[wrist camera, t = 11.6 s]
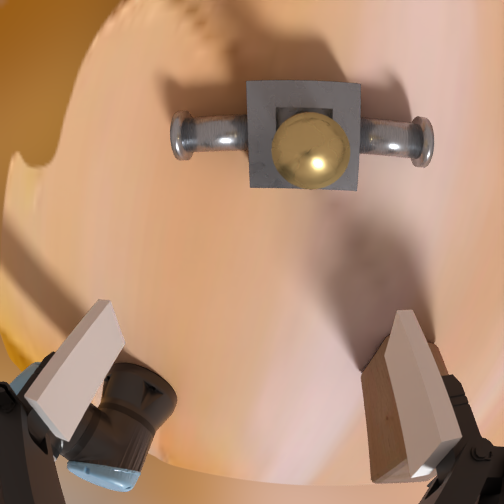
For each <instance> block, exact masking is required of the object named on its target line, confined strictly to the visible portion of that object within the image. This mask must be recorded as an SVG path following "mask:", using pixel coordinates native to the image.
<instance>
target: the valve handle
mask: <svg viewBox="0 0 504 504" xmlns="http://www.w3.org/2000/svg"><path fill="white" fill-rule="evenodd" d="M271 152H272V159H273V162H274V165H275V167H276V169H277V171H278V172H279V173H280V175H281V176H282V177H283V178H284V179H285V180H287V181H288V182H289V183H291V184H293V185H295V186H297V187H300V188H304V189H320V188H324V187H326V186H329V185H331V184H332V183H334V182H335V181H337V180H338V179H339V178H340V177H341V176H342V175H343V173H344V172H345V170H346V168H347V166H348V163H349V160H350V144H349V140H348V138H347V135H346V133H345V132H344V130H343V129H342V127H341V126H340V125H339V124H338V123H337V122H336V121H334V120H333V119H331V118H329V117H327V116H325V115H323V114H320V113H315V112H308V111H301V112H297V113H295V114H293V115H292V116H291V117H290V118H288V119H287V120H286V121H284V122H283V123H282V124H281V126H280V127H279V128H278V130H277V131H276V133H275V135H274V138H273V141H272V149H271Z"/></svg>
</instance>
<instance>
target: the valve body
mask: <svg viewBox="0 0 504 504" xmlns="http://www.w3.org/2000/svg"><path fill="white" fill-rule="evenodd" d="M246 90H247V114H244V115H222V116H206V117H193V118H192V116H191V114H190V113H189V112H188V111H177V112H176V113H175V114H174V116H173V118H172V122H171V128H170V140H171V146H172V150H173V153H174V155H175V157H176V158H177V159H178V160H189V159H190V158H191V157H192V155H193V152H205V151H235V150H249V176H250V188H299V189H304V188H300V187H297V186H295V185H293V184H291V183H289V182H288V181H287V180H285V179H284V178H283V177H282V176H281V175H280V173H279V172H278V171H277V169H276V167H275V165H274V162H273V159H272V152H271V149H272V141H273V138H274V135H275V133H276V131H277V130H278V128H279V127H280V126H281V124H282V123H283V122H284V121H286V120H287V119H288V118H290V117H291V116H292V115H293V114H295V113H297V112H301V111H308V112H315V113H320V114H323V115H325V116H327V117H329V118H331V119H333V120H334V121H336V122H337V123H338V124H339V125H340V126H341V127H342V129H343V130H344V132H345V133H346V135H347V138H348V140H349V144H350V160H349V163H348V166H347V168H346V170H345V172H344V173H343V175H342V176H341V177H340V178H339V179H338V180H337V181H335V182H334V183H332V184H331V185H329V186H326V187H324V188H320V189H327V190H348V191H357V184H358V168H359V153H360V154H373V155H384V156H394V157H404V158H411V161H412V163H413V165H414V166H416V167H423V168H425V167H427V166H428V164H429V163H430V161H431V158H432V155H433V150H434V133H433V128H432V125H431V123H430V121H429V120H428V119H427V118H425V117H419V116H417V117H415V118H414V119H413V121H412V123H406V122H399V121H391V120H382V119H372V118H361V84H357V83H345V82H330V81H307V80H260V81H246Z"/></svg>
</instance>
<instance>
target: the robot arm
mask: <svg viewBox="0 0 504 504" xmlns="http://www.w3.org/2000/svg"><path fill="white" fill-rule="evenodd" d="M124 345H125V340H124V338H123V335H122V332H121V329H120V327H119V324H118V321H117V318H116V315H115V312H114V309H113V306H112V303H111V301H110V300H100V299H98V300H97V302H96V303H95V304H94V305H93V306H92V308H91V309H90V310H89V311H88V312H87V314H86V315H85V316H84V317H83V319H82V320H81V321H80V322H79V323H78V325H77V326H76V327H75V328H74V330H73V331H72V332H71V333H70V335H69V336H68V337H67V338H66V340H65V341H64V342H63V344H62V345H61V346H60V347H59V349H58V350H57V351H56V352H52V353H50V354H49V355H48V356H46V357H45V358H44V359H43V361H42V362H35V363H33V364H31V365H30V366H29V367H27V368H26V369H25V370H24V371H23V372H22V373H21V374H20V375H19V376H18V377H16V379H14V381H12V383H11V384H10V385H9V384H8V383H7V382H0V504H66V503H65V500H64V496H63V493H62V489H61V486H60V482H59V478H58V474H57V471H56V466H55V461H56V460H57V458H58V456H59V454H60V455H62V456H63V457H65V458H66V459H68V460H69V461H68V463H67V464H68V465H67V468H68V469H69V470H70V471H71V472H72V473H74V474H75V475H77V476H78V477H80V478H82V479H84V480H86V481H89V482H91V483H93V484H96V485H99V486H101V487H104V488H107V489H111V490H115V491H121V492H127V491H130V490H131V489H133V487H134V485H135V483H136V481H137V479H138V477H139V476H140V475H141V473H140V472H141V470H142V467H143V464H144V462H145V459H146V456H147V454H148V451H149V448H150V446H151V443H152V441H153V438H154V435H155V433H156V431H157V430H158V429H159V427H160V426H161V425H162V424H163V423H164V422H165V421H166V420H167V419H168V418H169V417H170V416H171V414H172V413H173V411H174V409H175V406H176V404H177V396H176V394H175V392H174V390H173V389H172V387H171V386H170V385H169V384H168V383H167V382H166V381H165V380H163V379H162V378H161V377H159V376H158V375H156V374H155V373H153V372H151V371H149V370H147V369H145V368H143V367H140V366H137V365H134V364H129V363H118V364H115V365H113V363H114V361H115V360H116V358H117V356H118V355H119V353H120V351H121V350H122V348H123V346H124ZM384 357H385V360H386V364H387V368H388V372H389V376H390V380H391V384H392V388H393V392H394V396H395V400H396V405H397V409H398V413H399V418H400V423H401V428H402V432H403V437H404V443H405V448H406V453H407V459H408V465H409V471H410V477H411V478H414V477H419V476H424V475H429V474H430V473H431V472H432V471H433V470H434V469H435V468H436V472H437V476H436V477H435V478H434V479H433V480H432V481H431V482H430V483H429V484H428V485H427V487H429V489H428V490H427V492H426V494H425V495H424V497H423V498H422V500H421V501H420V503H419V504H504V447H497V446H493V445H492V443H491V442H490V441H489V440H487V439H486V438H482V437H481V435H480V432H479V429H478V427H477V424H476V421H475V418H474V415H473V413H472V410H471V407H470V405H469V404H468V400H467V397H466V396H465V392H464V390H463V387H462V385H461V383H460V382H459V381H458V380H457V379H456V378H455V376H454V375H453V374H452V375H445V376H441V375H440V372H439V370H438V367H437V365H436V362H435V360H434V357H433V355H432V352H431V350H430V348H429V345H428V343H427V341H426V338H425V336H424V334H423V332H422V329H421V327H420V325H419V323H418V321H417V318H416V316H415V314H414V312H413V310H397V311H396V315H395V319H394V323H393V327H392V330H391V334H390V338H389V341H388V345H387V348H386V351H385V355H384ZM112 365H113V366H112ZM104 378H105V379H104ZM103 380H104V385H103V391H102V398H101V403H100V405H99V407H98V408H97V407H95V406H94V405H93V404H92V403H91V401H92V399H93V397H94V396H95V394H96V392H97V390H98V389H99V387H100V385H101V383H102V382H103Z"/></svg>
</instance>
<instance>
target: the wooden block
mask: <svg viewBox="0 0 504 504" xmlns="http://www.w3.org/2000/svg"><path fill="white" fill-rule="evenodd" d="M389 338H390V335H389V336H387V337H386V338H385V340H384V341H383V343H382V344H381V346H380V347H379V349H378V351H377V352H376V354H375V355H374V357H373V358H372V360H371V361H370V362H369V364H368V365H367V367H366V368H365V370H364V371H363V373H362V375H361V382H362V390H363V398H364V406H365V415H366V424H367V434H368V445H369V457H370V471H371V480H372V482H373V483H408V482H421V481H428V480H430V479H431V478H433V477H434V476H436V475H437V472H436V468H435V469H434V470H433V471H432V472H431V473H430V474H429V475H424V476H419V477H414V478H411V477H410V471H409V465H408V459H407V453H406V448H405V443H404V437H403V432H402V428H401V423H400V418H399V413H398V409H397V405H396V400H395V396H394V392H393V388H392V384H391V380H390V376H389V372H388V368H387V364H386V360H385V357H384V355H385V351H386V348H387V345H388V341H389ZM427 343H428V345H429V348H430V350H431V352H432V355H433V357H434V360H435V362H436V365H437V367H438V370H439V372H440V375H441V376H445V375H449V374H448V371H447V369H446V366H445V364H444V361H443V359H442V356H441V354H440V351H439V349H438V347H437V346H436V345H435V344H433V343H429V342H427Z"/></svg>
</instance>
